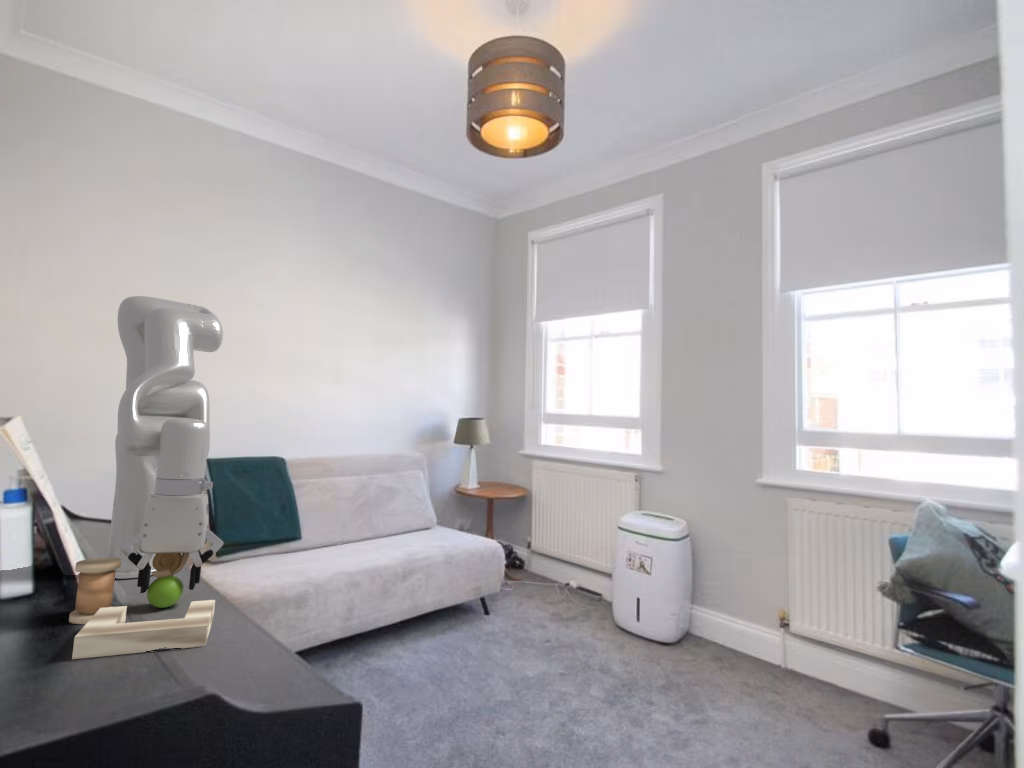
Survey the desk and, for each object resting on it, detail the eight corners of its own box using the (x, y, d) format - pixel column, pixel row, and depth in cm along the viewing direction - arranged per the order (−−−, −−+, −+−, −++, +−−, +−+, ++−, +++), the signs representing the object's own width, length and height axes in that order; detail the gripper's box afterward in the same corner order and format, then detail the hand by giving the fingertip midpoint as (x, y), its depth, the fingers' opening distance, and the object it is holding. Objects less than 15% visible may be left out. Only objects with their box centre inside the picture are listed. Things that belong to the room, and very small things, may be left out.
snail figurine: (193, 605, 95) (200, 537, 96) (153, 614, 90) (161, 542, 91) (179, 598, 98) (186, 532, 99) (139, 607, 93) (147, 537, 94)
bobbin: (75, 612, 89) (82, 558, 90) (119, 609, 91) (125, 556, 92) (63, 625, 83) (70, 567, 84) (109, 622, 86) (116, 565, 87)
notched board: (98, 627, 84) (100, 607, 84) (213, 617, 90) (215, 599, 90) (71, 659, 73) (74, 636, 73) (205, 646, 79) (207, 625, 79)
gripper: (234, 485, 103) (225, 580, 101) (127, 484, 96) (115, 586, 94) (232, 490, 96) (221, 592, 95) (115, 490, 89) (103, 599, 87)
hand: (168, 588), depth 94 cm, fingers open, 6 cm apart
